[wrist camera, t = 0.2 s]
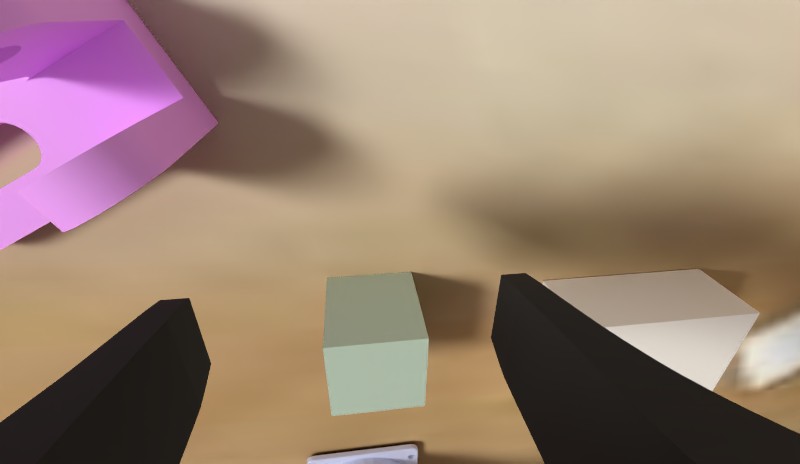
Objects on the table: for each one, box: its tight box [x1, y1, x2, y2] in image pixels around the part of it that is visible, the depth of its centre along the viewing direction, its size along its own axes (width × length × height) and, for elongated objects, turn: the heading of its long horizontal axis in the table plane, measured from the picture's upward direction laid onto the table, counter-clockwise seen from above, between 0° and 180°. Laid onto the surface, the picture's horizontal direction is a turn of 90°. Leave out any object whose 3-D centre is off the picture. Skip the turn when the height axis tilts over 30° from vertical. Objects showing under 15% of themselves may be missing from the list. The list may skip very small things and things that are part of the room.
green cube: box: [323, 272, 429, 416], centre depth 20 cm, size 4×4×5 cm
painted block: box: [542, 269, 760, 391], centre depth 24 cm, size 10×10×4 cm
